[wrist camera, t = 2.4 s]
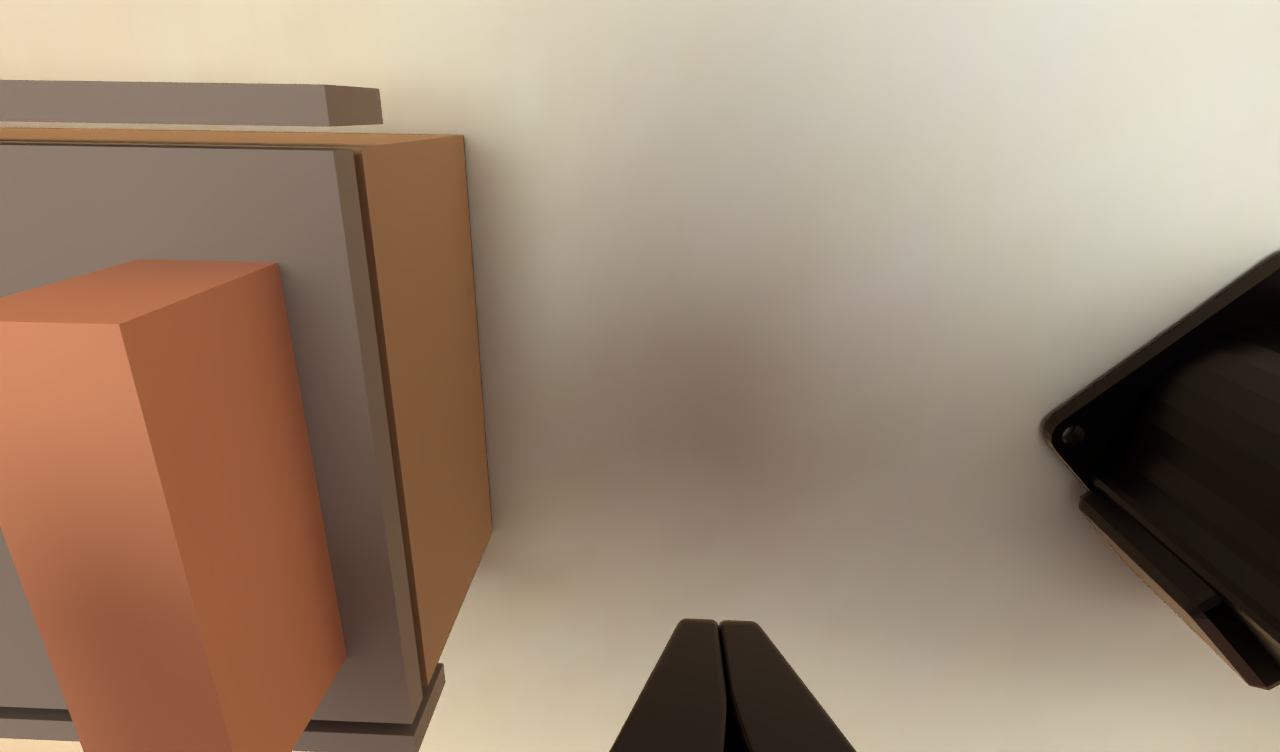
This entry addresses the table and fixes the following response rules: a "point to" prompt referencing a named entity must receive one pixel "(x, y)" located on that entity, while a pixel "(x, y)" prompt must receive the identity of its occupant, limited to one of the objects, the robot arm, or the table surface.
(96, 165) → the lid
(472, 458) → the base
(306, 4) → the table surface
